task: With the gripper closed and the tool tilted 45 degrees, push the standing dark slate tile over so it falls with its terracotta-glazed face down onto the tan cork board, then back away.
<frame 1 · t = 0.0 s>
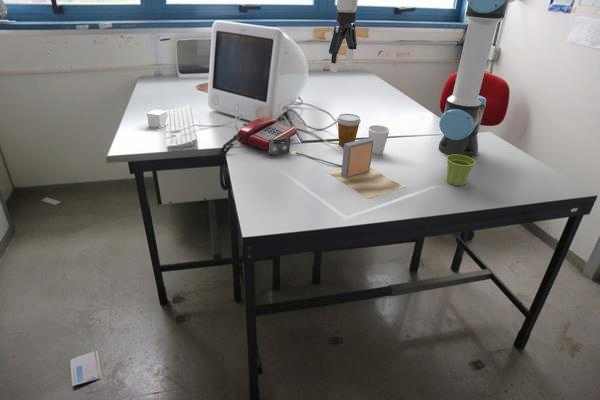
hand: (341, 68, 165), 28 cm above the table, tool pointing down, fingers open, 13 cm apart
plant pot: (455, 182, 143), on the table
tile: (355, 173, 144), point 1 cm above the table, touching board
adhesive note: (158, 125, 181), on the table
disposable coffee cup: (346, 145, 169), on the table
board: (364, 181, 141), on the table
mini dv tape: (279, 153, 159), on the table
dixie cup: (375, 152, 163), on the table
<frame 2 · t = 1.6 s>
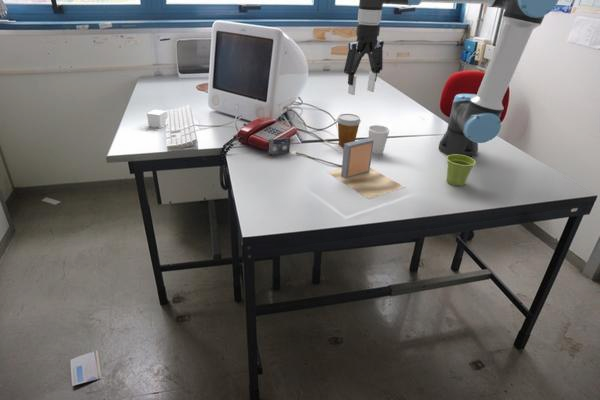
hand: (361, 92, 145), 25 cm above the table, tool pointing down, fingers open, 8 cm apart
nothing on the table moved.
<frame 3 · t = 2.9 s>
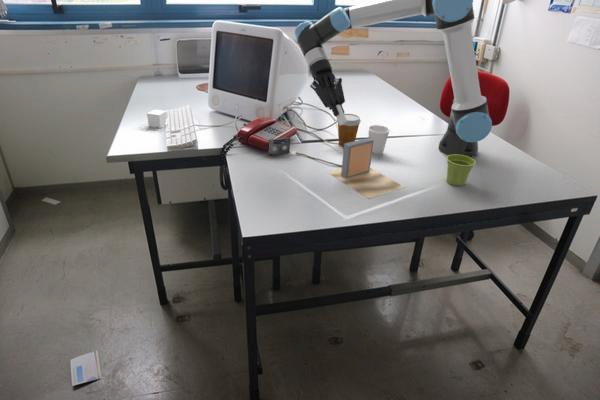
hand: (343, 123, 142), 17 cm above the table, tool tilted 45°, fingers closed
nothing on the table moved.
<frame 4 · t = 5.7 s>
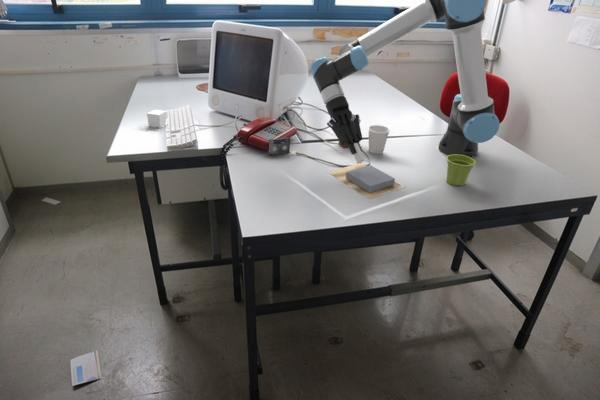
hand: (361, 161, 139), 6 cm above the table, tool tilted 45°, fingers closed
tile: (358, 171, 142), point 2 cm above the table, tilted 90°, touching board
everything else where it was.
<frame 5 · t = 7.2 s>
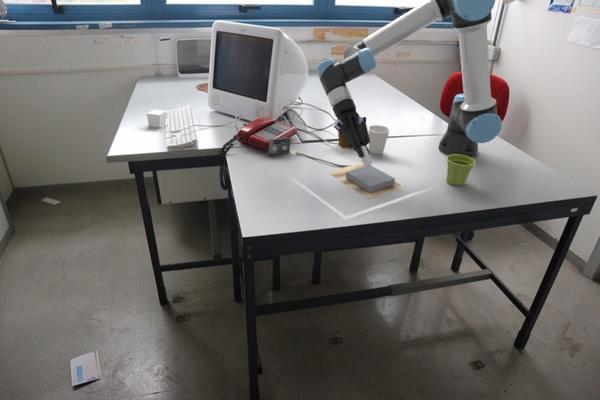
hand: (368, 165, 137), 7 cm above the table, tool tilted 45°, fingers closed
nothing on the table moved.
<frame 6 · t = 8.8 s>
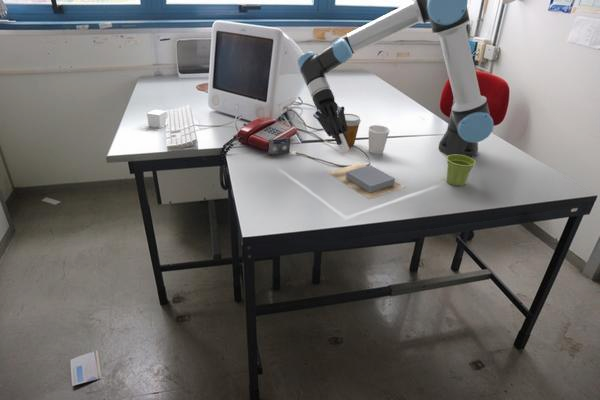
hand: (346, 151, 145), 7 cm above the table, tool tilted 45°, fingers closed
nothing on the table moved.
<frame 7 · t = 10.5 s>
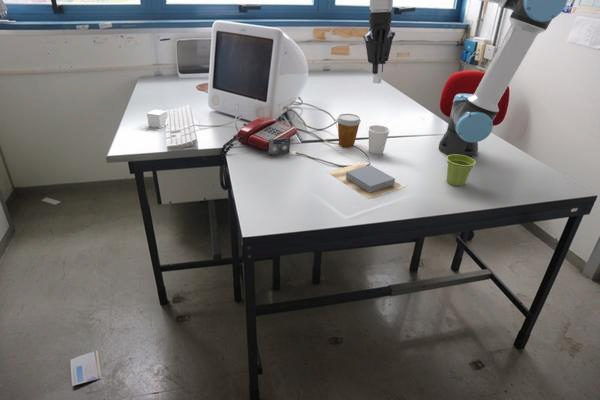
hand: (377, 82, 148), 28 cm above the table, tool pointing down, fingers closed
nothing on the table moved.
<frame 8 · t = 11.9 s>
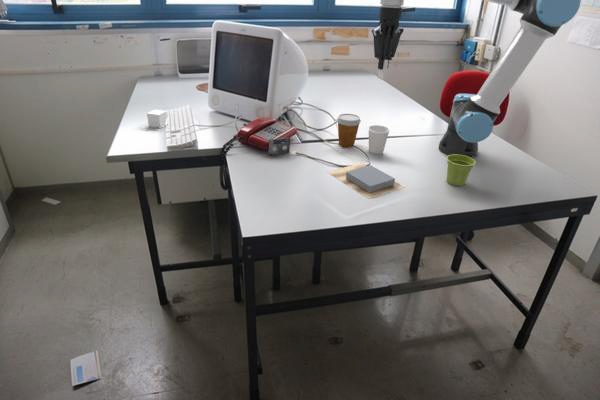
hand: (381, 78, 147), 29 cm above the table, tool pointing down, fingers closed
nothing on the table moved.
at the end: tile tilted 90°; tile inside the target area on the board (3.6 cm from its centre), point 2.2 cm above the board's base; the gripper is holding nothing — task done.
